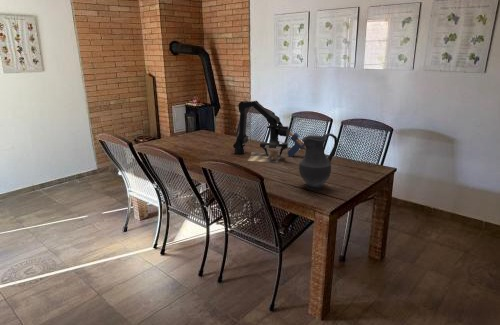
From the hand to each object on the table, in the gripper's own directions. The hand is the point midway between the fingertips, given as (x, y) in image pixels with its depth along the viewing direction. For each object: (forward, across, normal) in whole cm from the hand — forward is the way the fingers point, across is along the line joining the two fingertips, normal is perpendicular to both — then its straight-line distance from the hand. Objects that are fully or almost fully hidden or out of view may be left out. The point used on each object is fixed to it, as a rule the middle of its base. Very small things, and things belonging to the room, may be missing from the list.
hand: (273, 157), depth 238 cm
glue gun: (+3, +20, +12) cm, 24 cm away
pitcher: (+3, +30, -44) cm, 54 cm away
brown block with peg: (+1, 0, -2) cm, 2 cm away
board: (+3, -6, -2) cm, 7 cm away
